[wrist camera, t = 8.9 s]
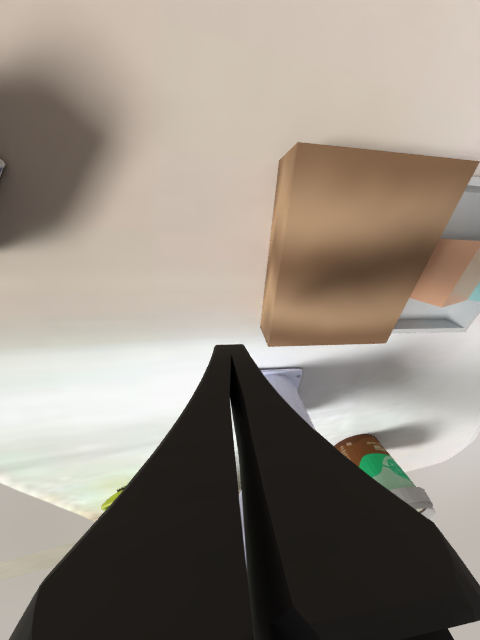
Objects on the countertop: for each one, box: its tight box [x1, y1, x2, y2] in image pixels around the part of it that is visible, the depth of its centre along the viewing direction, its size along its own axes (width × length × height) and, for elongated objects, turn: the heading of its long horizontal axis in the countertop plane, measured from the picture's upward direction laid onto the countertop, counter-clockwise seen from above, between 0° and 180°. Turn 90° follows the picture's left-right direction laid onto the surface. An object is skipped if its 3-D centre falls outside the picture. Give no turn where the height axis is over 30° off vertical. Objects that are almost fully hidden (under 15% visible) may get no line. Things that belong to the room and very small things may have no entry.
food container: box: [334, 434, 435, 519], centre depth 30 cm, size 12×6×10 cm, turn 67°
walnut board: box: [260, 142, 480, 347], centre depth 16 cm, size 14×12×4 cm
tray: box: [392, 176, 480, 333], centre depth 17 cm, size 13×10×2 cm
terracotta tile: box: [410, 238, 480, 308], centre depth 16 cm, size 5×5×2 cm
